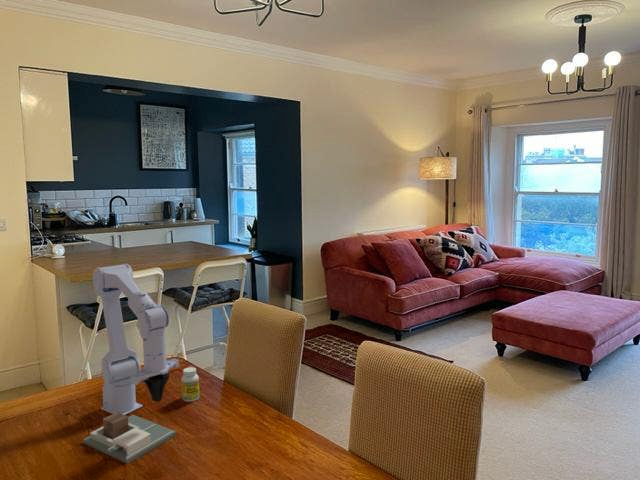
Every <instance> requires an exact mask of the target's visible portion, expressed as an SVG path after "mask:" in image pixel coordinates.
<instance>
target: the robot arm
mask: <svg viewBox="0 0 640 480" xmlns="http://www.w3.org/2000/svg"><path fill="white" fill-rule="evenodd" d="M133 272H134V271H133V268H132V267H131V266H130V265H129V263H123V264H118V265H111V266H110V265H109V266H103V267H95V269H94V270H93V274H92V283H93V289H94V293H95V296H97V297H100V299H101V303H102V310H103V316H104V321H105V328H106V334H107V335H106V336H107V341H108V347H109V351H108V352H107V353H106V354H105V356H104V357H103V358H101V376H102V379H103V382H104V383H103V386H102V400H103V401H102V402H103V406H102V407H100V409H101V410H102V411H105V412H107V413H109V414H111V415H113V414H115V413H117V412H119V413H121V414H123V415H126V416H127V415H129V414H130V413H132V412H134V411H136V410H138V409H140V408H142V407H143V404H141V403H138V402H137V399H136V398H137V397H136V396H137V395H136V386H138V385H139V384H140V383H141V382H144V384H145V385H146V387H147V389H148V391H149V394H150V396H151V400H152V401H154V402H155V403H158V402H160V401H162V399H163V394H164V389H165V387H166V385H167V382H168V380H169V378H170V373H169V370H171V369H174V368H178V367H179V366H180V365H179V364H180V363H179V359H176V358H171V359H167V347H166V346H167V345H166V343H167V341H166V327H168V326H169V323H170V316H169V313H168V310H167V309H166V307H165V306H164V305H160V304H157V303H155V302H154V300H153V299H152V298H151V297H150V295H149V294H148V293H147V292H145V291H144V290H143V291H142V290H140V289H139V288H138V286H137V284H136V283H135V280H134V273H133ZM121 293H122V294H123V295H124V296H125V297H126V298H127V299H128V300H127V306H128V307H129V309H130V310H131V311H132V312H133V314H134V315H135V316H136V318H137V325H138V328H139V331H140V334H139V335H140V337H141V338H142V346H143V347H142V350H143V353H142V354H143V368H141V367H142V366H141V362H140V360H139V358H138V357H139V356H138V354H137V351H135V350H133V349H131V348H129V347H128V343H127V337H126V332H125V326H124V325H125V324H124V319H123V313H122V305H121V300H120V295H121Z"/></svg>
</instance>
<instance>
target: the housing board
mask: <svg viewBox="0 0 640 480" xmlns="http://www.w3.org/2000/svg"><path fill="white" fill-rule="evenodd" d="M128 426H129V431H130V430H132V429H134V428H138V429H140V430H143V431H145V432H148V433H150V434H151V443H150V444H148V445H147V446H145V447H143V448H141V449H140V450H138V451H136V452H134V453H133V454H131V455H129V456H127V450H126V448H124V447H121V448H119V449H118V450H116V451H115V450H114V449H113V440H112V439H110V438H108V437H106V436H104V427H103V426H100V427H99V428H97V429H95V430H93V431H91V432H90V433H89V436H86V437H85V438H83V439H82V443H83V444H85V445H87V446H89V447H91V448H93V449H95V450H98V451H99V452H101V453H103V454H106V455H107V456H110V457H112V458H114V459H116V460H118V461H121V462H122V463H125V464H127V465H128V464H130V463H132V462H134V461H135V460H137V459H139V458H140V457H141V456H143V455H145V454H146V453H149V452H151V451H152V450H153V449H154V450H155V448H157V447H158V446H161V445H162V444H163V443H165V442H167V441H169V440H170V439H172V438H174V437H175V436H177V431H176V430H173V429H170V428H168V427H166V426H163V425H162V424H161V425H160V424H158V423H155V422H153V421H151V420H147V419H145V418H143V417H140V416H137V415H135V414H131V415H130V416H128ZM120 436H121V435H120ZM118 437H119V436H118ZM116 438H117V437H116ZM114 439H115V438H114Z"/></svg>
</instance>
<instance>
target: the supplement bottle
mask: <svg viewBox="0 0 640 480" xmlns="http://www.w3.org/2000/svg"><path fill="white" fill-rule="evenodd" d="M182 371H183V373H182V374H183V375H182V377H181V380H180V382H181V399H182V400H183V401H184V402H190V403H191V402H195V401H197V400H198V399H199V398H200V383H199V382H200V377H199V375H198V374H197V368H196V367H186V368H184V369H183V370H182Z"/></svg>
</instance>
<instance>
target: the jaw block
mask: <svg viewBox="0 0 640 480" xmlns="http://www.w3.org/2000/svg"><path fill="white" fill-rule="evenodd" d="M128 417H129V416H127V414H126V415H123V414H121V413H119V412H117V413H115V414H110V415H109V416H106V417H104V418H102V424H103V425H102V427H104V436H106V437H108V438H110V439H112V440H113V439H114V438H116V437H118V436H120V435H122V434H124V433H126V432H128V431H129V426H128Z"/></svg>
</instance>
